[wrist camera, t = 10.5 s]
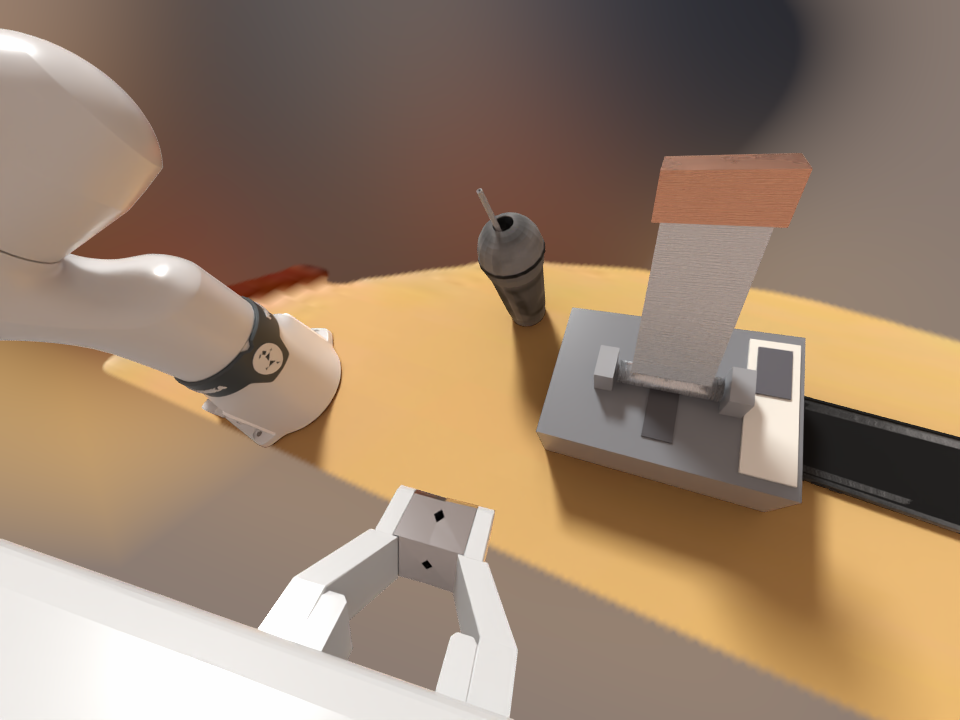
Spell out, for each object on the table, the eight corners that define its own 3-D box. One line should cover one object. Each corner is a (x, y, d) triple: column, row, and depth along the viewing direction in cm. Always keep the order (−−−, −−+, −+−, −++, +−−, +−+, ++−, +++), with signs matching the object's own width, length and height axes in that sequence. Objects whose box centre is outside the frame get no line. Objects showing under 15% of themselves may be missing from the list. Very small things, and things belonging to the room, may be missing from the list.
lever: (614, 390, 33) (651, 170, 22) (620, 367, 35) (656, 156, 24) (718, 412, 30) (825, 168, 18) (717, 385, 32) (812, 152, 21)
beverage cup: (566, 318, 47) (548, 185, 30) (515, 345, 47) (469, 227, 30) (540, 281, 51) (510, 143, 34) (493, 305, 51) (440, 182, 34)
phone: (786, 391, 36) (1014, 451, 30) (781, 395, 37) (1001, 454, 30) (771, 467, 34) (1015, 550, 27) (766, 469, 34) (1001, 550, 28)
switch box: (545, 449, 40) (531, 421, 32) (575, 339, 45) (570, 290, 37) (764, 512, 33) (823, 497, 24) (772, 372, 38) (823, 319, 29)
